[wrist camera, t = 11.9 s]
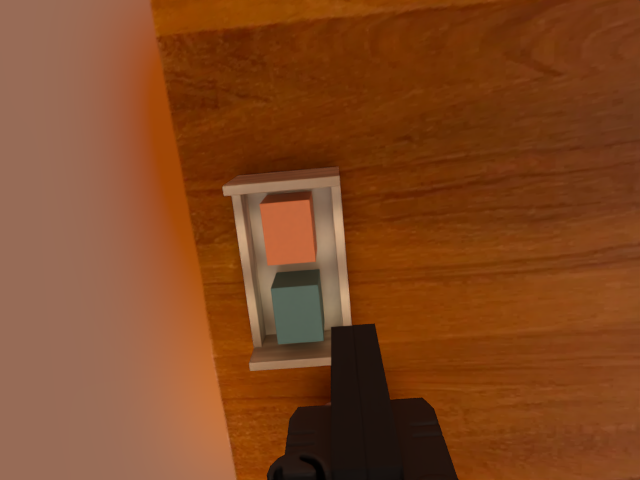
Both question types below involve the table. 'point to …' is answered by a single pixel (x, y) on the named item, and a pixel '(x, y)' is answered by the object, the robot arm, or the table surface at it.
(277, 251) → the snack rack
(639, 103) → the table surface
